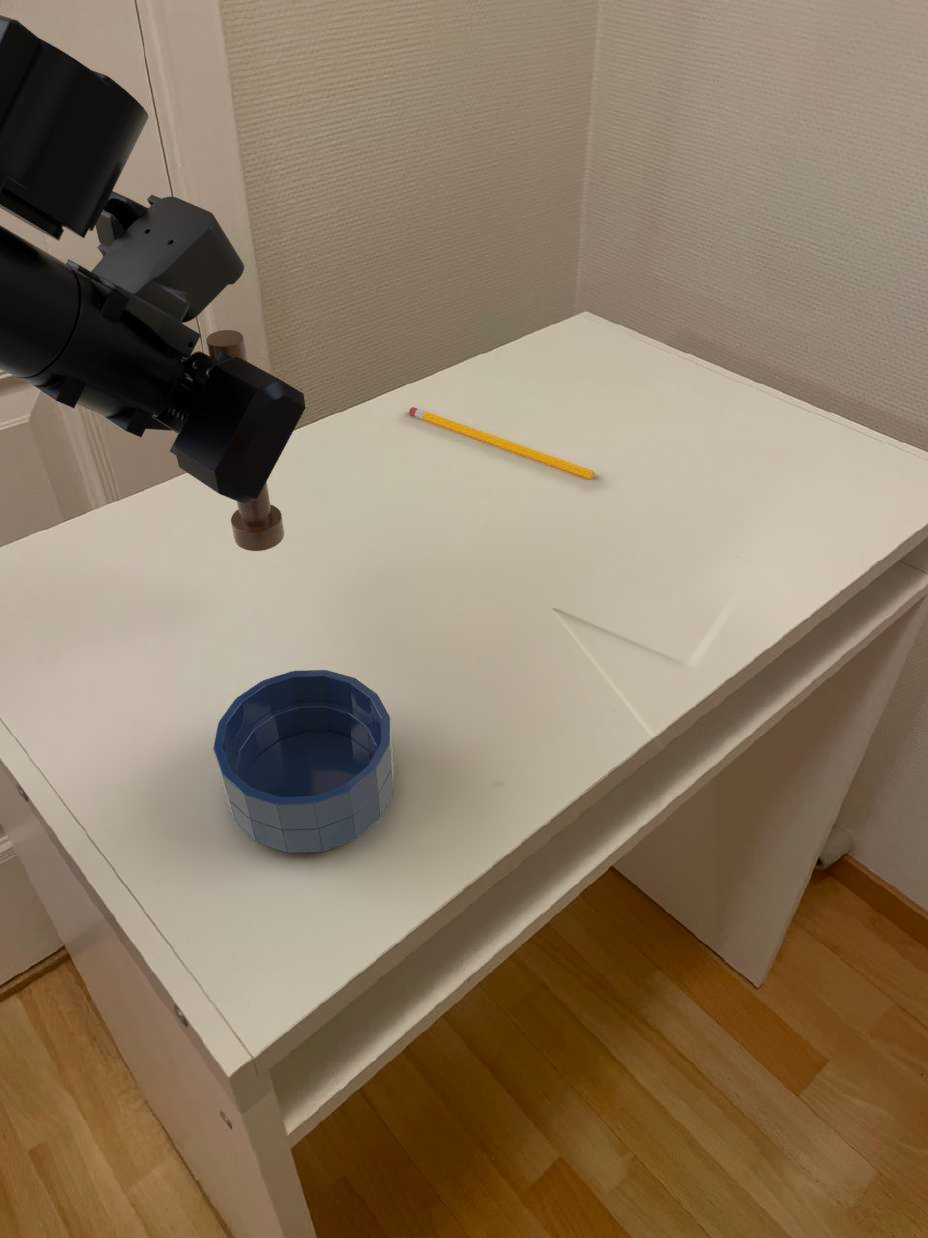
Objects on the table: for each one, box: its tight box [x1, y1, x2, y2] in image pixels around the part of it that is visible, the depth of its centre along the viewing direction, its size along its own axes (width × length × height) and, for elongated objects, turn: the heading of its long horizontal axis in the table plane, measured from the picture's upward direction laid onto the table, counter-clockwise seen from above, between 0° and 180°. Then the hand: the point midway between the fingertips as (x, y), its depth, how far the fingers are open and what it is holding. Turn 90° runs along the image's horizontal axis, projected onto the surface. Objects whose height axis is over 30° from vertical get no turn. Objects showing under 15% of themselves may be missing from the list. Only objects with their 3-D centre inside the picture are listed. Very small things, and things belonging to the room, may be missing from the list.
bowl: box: [212, 669, 395, 854], centre depth 53 cm, size 9×9×5 cm
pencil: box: [408, 406, 595, 481], centre depth 81 cm, size 1×18×1 cm, turn 57°
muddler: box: [205, 329, 285, 552], centre depth 56 cm, size 3×3×14 cm
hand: (261, 433), depth 57 cm, fingers closed on muddler, 2 cm apart
